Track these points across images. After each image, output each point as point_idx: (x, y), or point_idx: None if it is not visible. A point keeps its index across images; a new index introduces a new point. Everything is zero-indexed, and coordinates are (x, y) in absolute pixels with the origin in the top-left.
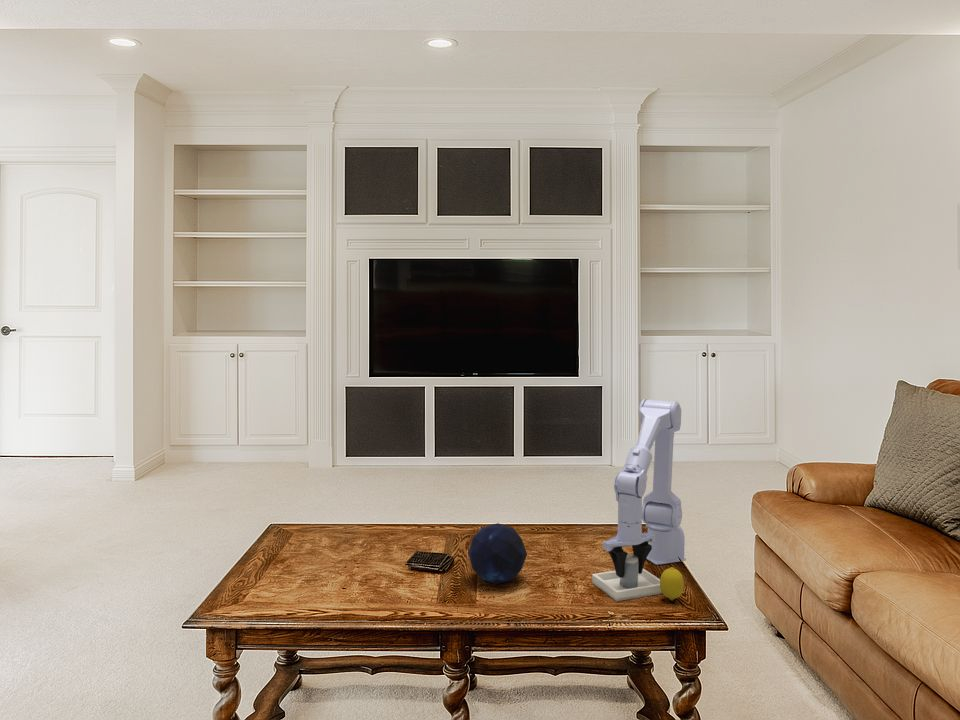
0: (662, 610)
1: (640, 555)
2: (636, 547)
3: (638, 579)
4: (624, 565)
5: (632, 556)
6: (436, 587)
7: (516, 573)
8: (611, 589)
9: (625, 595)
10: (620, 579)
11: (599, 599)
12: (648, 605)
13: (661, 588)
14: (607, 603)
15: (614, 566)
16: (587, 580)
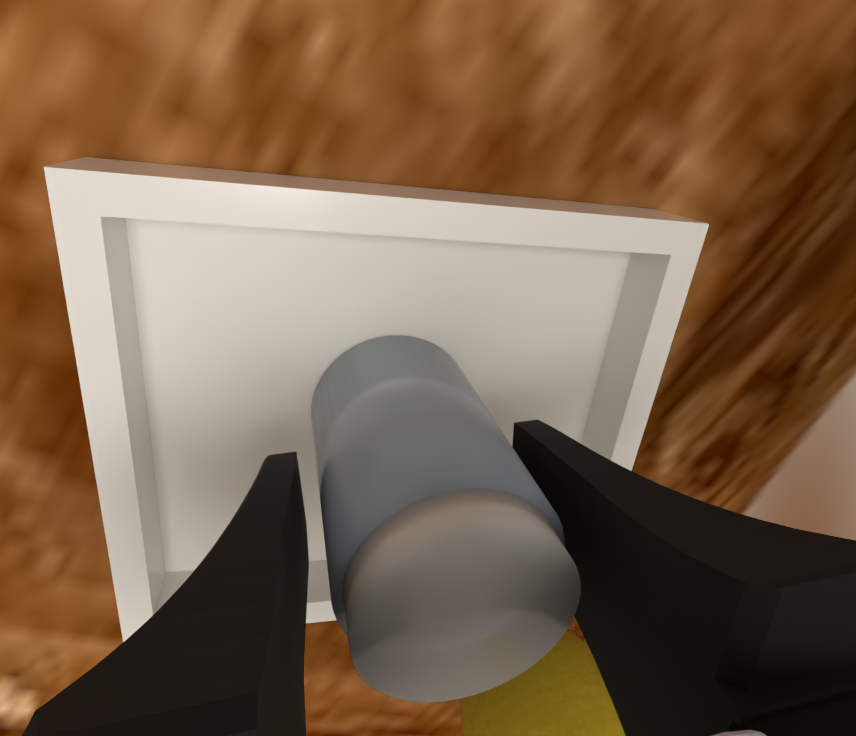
0: (366, 714)
1: (610, 648)
2: (684, 664)
3: (543, 339)
4: (301, 668)
5: (523, 605)
6: None
7: None
8: (113, 570)
9: None
10: (316, 430)
11: (5, 520)
12: (332, 658)
13: (464, 714)
14: (49, 591)
15: (236, 514)
16: (55, 61)
